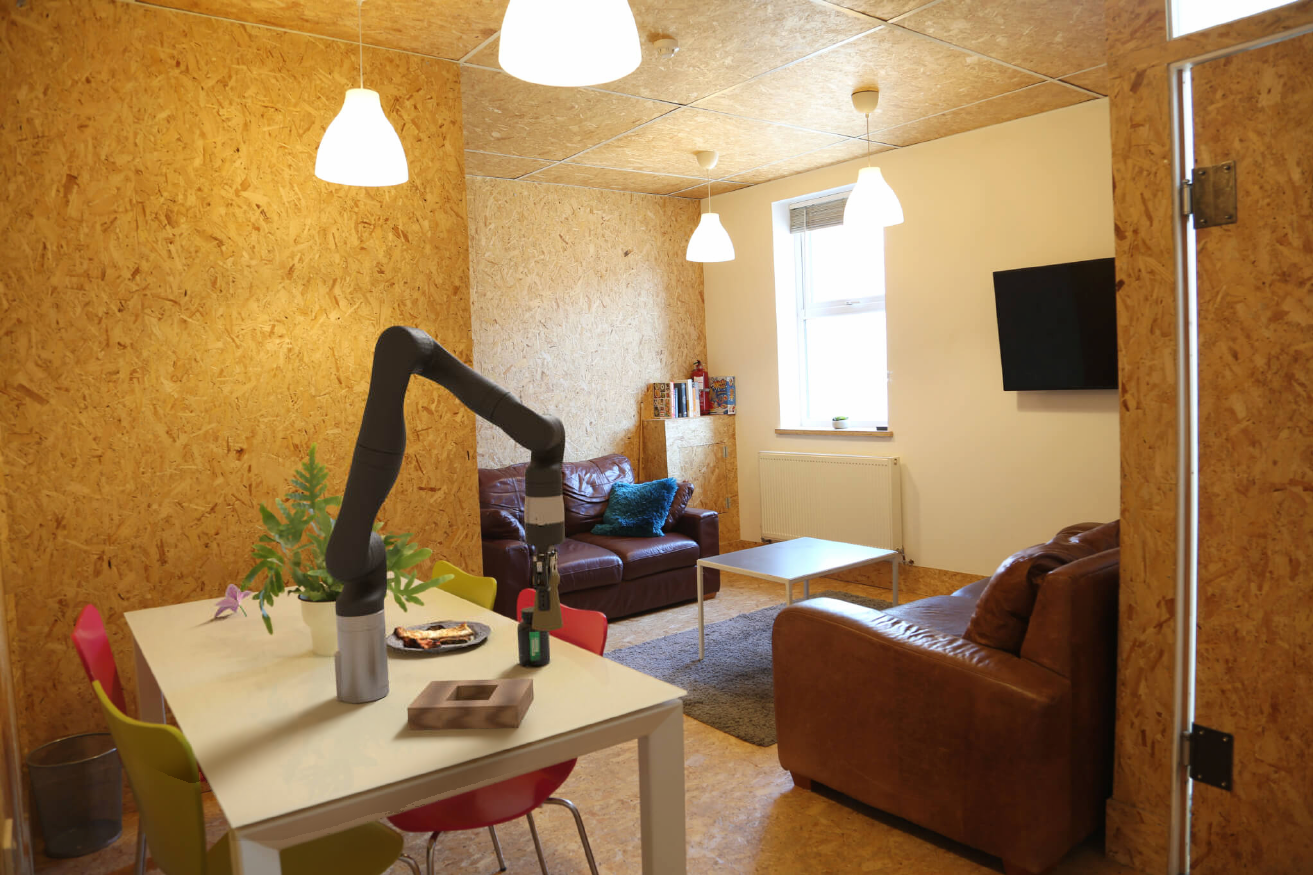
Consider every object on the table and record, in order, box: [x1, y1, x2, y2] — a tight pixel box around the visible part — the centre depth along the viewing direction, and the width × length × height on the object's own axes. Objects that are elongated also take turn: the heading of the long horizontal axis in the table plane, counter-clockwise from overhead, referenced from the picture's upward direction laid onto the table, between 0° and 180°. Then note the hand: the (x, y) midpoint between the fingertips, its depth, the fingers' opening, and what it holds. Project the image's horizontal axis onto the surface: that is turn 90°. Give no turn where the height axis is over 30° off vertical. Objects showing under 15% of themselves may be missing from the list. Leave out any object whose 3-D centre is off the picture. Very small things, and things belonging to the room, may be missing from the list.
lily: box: [213, 583, 253, 619], centre depth 241 cm, size 12×12×10 cm
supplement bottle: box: [516, 606, 551, 668], centre depth 188 cm, size 7×7×12 cm
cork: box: [532, 570, 564, 632], centre depth 163 cm, size 6×6×11 cm
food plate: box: [386, 620, 492, 654], centre depth 207 cm, size 25×23×4 cm
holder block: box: [407, 678, 535, 731], centre depth 159 cm, size 20×14×4 cm
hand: (546, 606), depth 163 cm, fingers closed on cork, 4 cm apart
